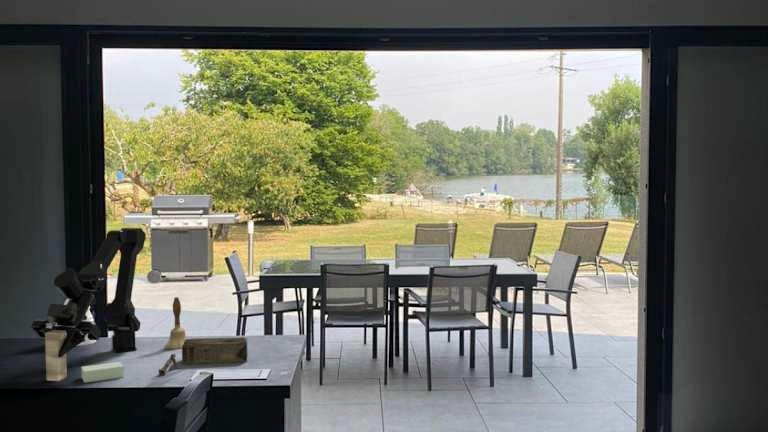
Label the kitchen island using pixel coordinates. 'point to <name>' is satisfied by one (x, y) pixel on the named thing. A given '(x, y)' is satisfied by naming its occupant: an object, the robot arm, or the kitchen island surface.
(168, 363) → the wooden post with brackets
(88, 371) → the pale green block
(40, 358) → the kitchen island surface
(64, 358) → the beech post
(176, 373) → the kitchen island surface
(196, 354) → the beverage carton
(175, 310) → the hand bell
